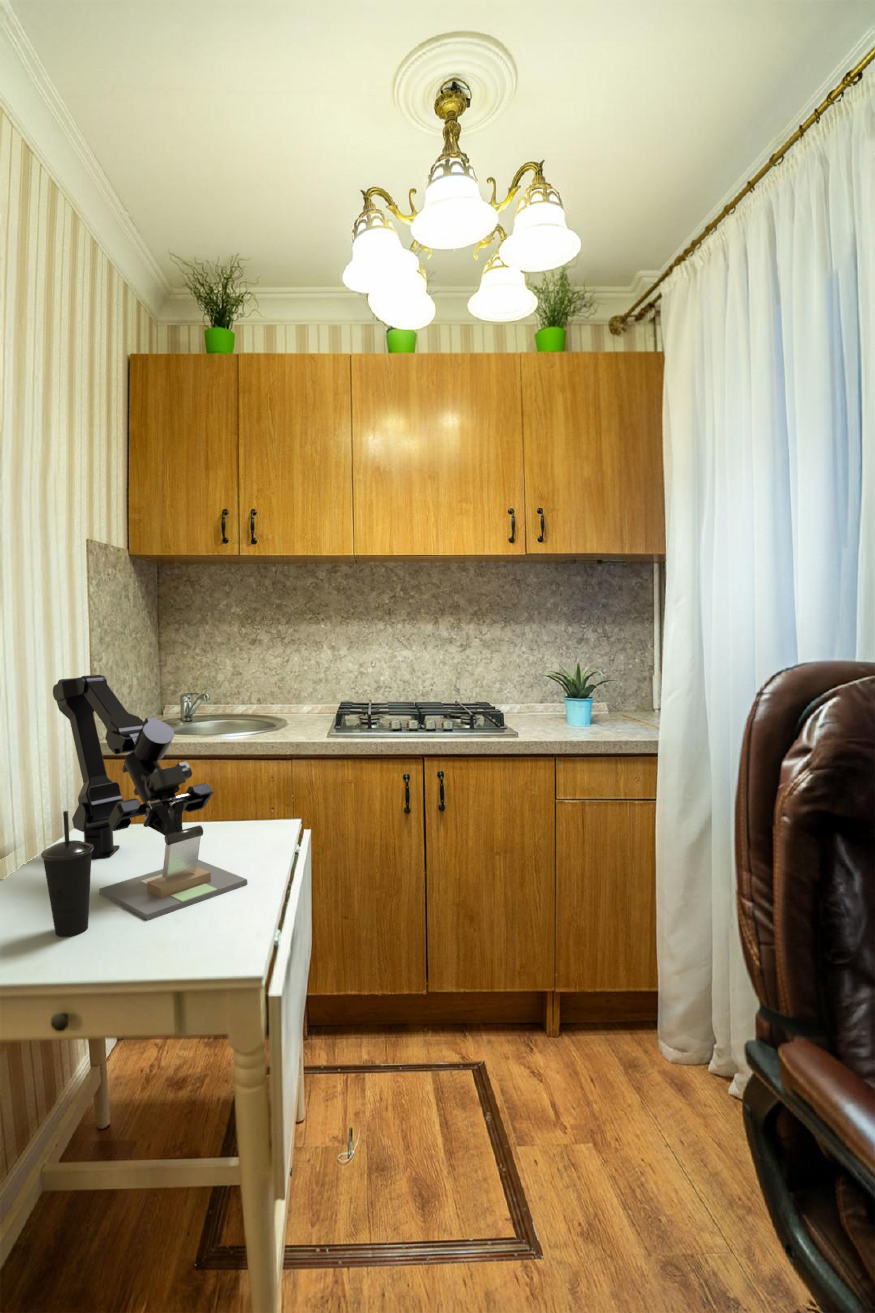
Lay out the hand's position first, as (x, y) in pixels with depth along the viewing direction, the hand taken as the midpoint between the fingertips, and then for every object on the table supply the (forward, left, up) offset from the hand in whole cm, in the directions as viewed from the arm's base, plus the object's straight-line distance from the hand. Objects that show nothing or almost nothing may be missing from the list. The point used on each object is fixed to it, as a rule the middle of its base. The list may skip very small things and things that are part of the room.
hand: (180, 842), depth 132 cm
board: (-2, -2, -10) cm, 10 cm away
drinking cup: (+14, -14, -10) cm, 22 cm away
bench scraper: (-1, -1, -7) cm, 7 cm away
